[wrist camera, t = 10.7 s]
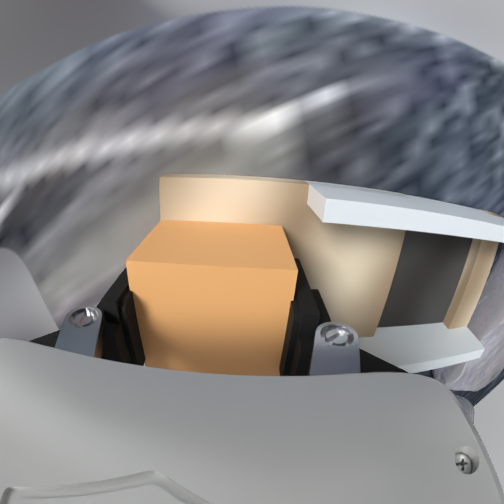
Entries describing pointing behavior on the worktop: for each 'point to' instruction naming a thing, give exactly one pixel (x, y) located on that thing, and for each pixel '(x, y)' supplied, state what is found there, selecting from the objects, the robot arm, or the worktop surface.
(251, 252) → the orange block
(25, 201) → the worktop surface
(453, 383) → the stone block
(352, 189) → the channel walls
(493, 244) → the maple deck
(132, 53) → the worktop surface
